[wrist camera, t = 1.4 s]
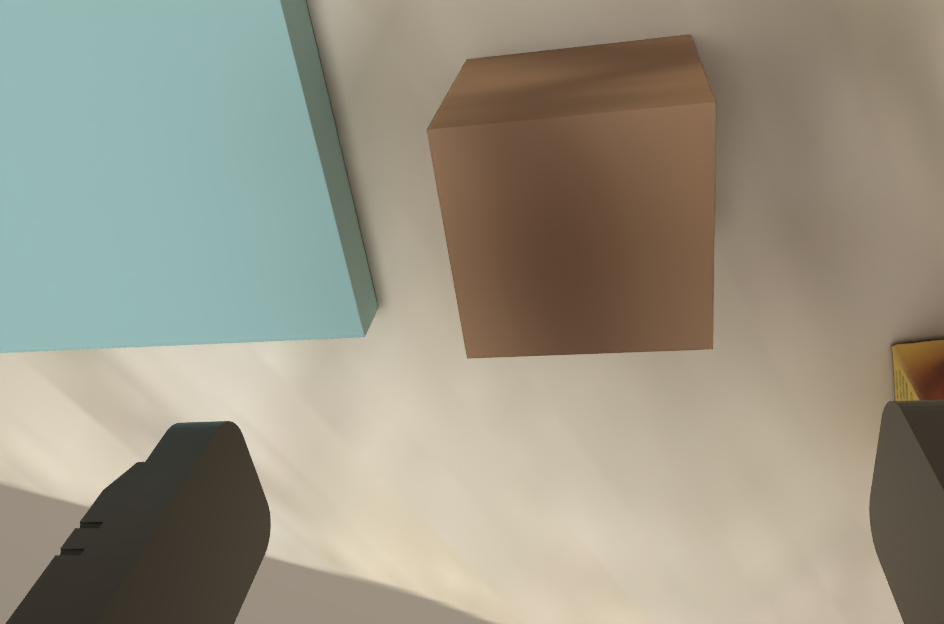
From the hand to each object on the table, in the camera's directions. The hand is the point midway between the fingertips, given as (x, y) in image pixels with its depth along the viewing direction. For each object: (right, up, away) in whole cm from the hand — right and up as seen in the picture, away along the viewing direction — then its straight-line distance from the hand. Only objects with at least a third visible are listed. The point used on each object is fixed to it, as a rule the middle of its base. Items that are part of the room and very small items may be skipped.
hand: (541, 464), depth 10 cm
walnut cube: (+2, +6, +9) cm, 11 cm away
